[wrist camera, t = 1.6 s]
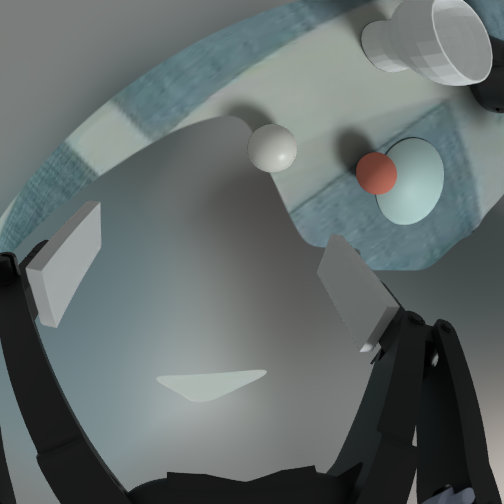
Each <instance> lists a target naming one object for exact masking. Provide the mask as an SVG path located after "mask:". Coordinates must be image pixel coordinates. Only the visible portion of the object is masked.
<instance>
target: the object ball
mask: <svg viewBox="0 0 504 504" xmlns="http://www.w3.org/2000/svg"><path fill="white" fill-rule="evenodd" d="M356 177H357V180H358V182H359V184H360V186H361V187H362V188H363V189H364V190H365V191H367V192H369V193H371V194H376V195H380V194H384V193H387V192H388V191H390V190H391V189H392V188H393V186H394V185H395V183H396V180H397V170H396V167H395V164H394V163H393V161H392V160H391V159H390V158H389V157H388V156H386V155H384V154H382V153H378V152H372V153H368V154H366V155H365V156H363V157H362V158H361V159H360V161H359V162H358V164H357V167H356Z"/></svg>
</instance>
